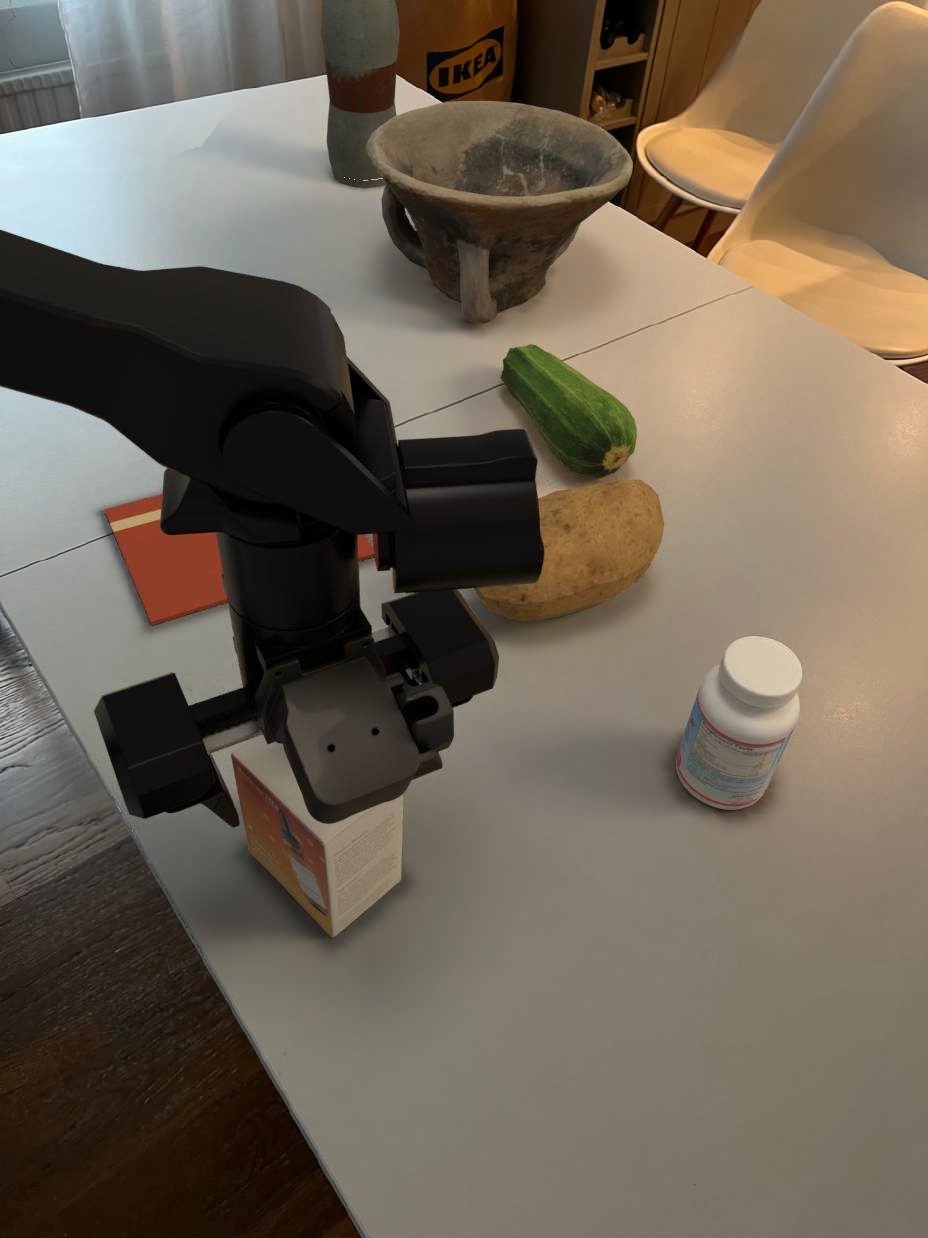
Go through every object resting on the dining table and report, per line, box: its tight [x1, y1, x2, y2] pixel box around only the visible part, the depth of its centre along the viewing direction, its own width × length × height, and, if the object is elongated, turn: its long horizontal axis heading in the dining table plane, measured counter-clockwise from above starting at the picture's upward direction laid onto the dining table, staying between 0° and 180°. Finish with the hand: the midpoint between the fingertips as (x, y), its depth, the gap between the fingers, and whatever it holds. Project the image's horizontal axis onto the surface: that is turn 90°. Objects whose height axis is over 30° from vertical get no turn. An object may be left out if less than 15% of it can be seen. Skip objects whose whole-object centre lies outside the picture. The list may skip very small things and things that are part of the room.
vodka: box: [320, 0, 401, 189], centre depth 119 cm, size 9×9×30 cm
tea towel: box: [103, 493, 375, 626], centre depth 81 cm, size 18×14×1 cm
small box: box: [230, 735, 404, 938], centre depth 57 cm, size 8×6×10 cm
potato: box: [473, 478, 665, 622], centre depth 74 cm, size 9×16×9 cm, turn 113°
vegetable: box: [499, 343, 638, 479], centre depth 90 cm, size 7×7×20 cm
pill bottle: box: [675, 635, 803, 811], centre depth 62 cm, size 6×6×11 cm
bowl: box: [366, 100, 634, 324], centre depth 106 cm, size 27×26×15 cm
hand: (315, 788), depth 54 cm, fingers open, 9 cm apart
